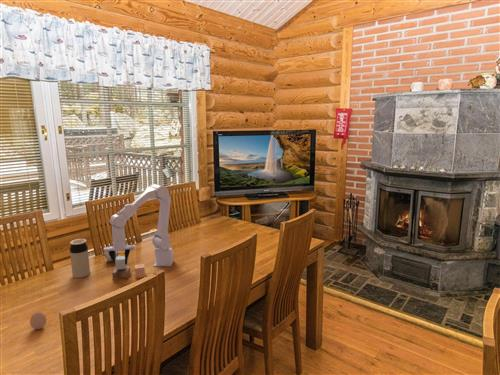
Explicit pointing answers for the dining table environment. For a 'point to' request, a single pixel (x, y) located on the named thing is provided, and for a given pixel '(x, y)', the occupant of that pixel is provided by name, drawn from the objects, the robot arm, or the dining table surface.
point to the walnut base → (121, 273)
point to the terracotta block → (140, 270)
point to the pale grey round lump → (109, 256)
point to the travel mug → (79, 258)
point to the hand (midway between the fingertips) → (120, 264)
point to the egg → (38, 320)
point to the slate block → (120, 262)
